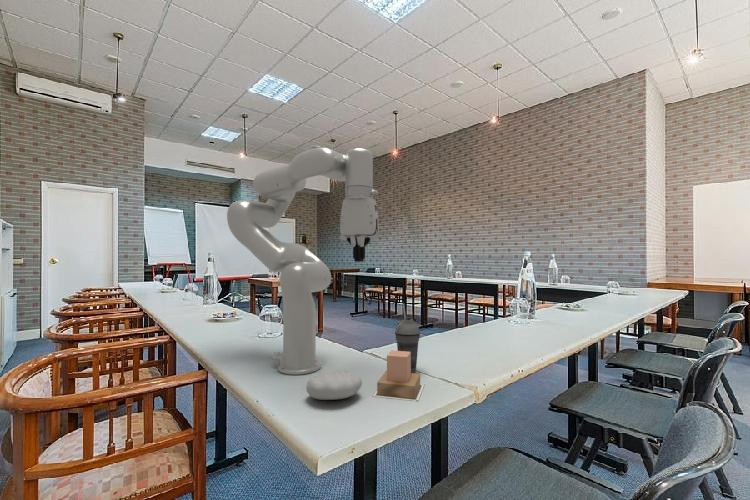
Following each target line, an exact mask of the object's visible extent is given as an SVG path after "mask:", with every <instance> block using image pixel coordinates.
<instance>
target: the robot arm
mask: <svg viewBox="0 0 750 500" xmlns="http://www.w3.org/2000/svg"><path fill="white" fill-rule="evenodd" d="M373 164H374V157H373V153H372V151H371V150H369V149H367V148H362V147H361V148H360V147H358V148H357V147H356V148H351V149H349V150H347V152H346V153H345V154H344V153H343V154H342V153H339V152H338V151H335V150H333V149H331V148H328V147H316V148H312V149H311V148H310V149H309V150H306V151H302V152H300V153H298V154H296V156H295V157H294V158H293V159H292V160H291V162H290V163H289V164H284V165H282V166H277V167H275V168H272V169H268V170H265V171H262V172H260V173H257V175H256V176H255V177H254V179H253V181H252V188H253V190H254V191H255V193H256V194H257V195H258V196H259V197H262V198H264V199H267V201H266V202H261V201H256V200H251V199H250V200H249V199H239V200H236V201H234V202H232V203H231V204H230V205H229V207H228V208H227V211H226V220H227V221H226V222H227V225H228V229H229V230H230V232H231V233H232V235H233V237H234V238H235V239H236V240H237V241H238V242H239V243H240V244H242V245H243V246H244V247H245V248H246V249H247V250H248V251H249V252H250V253H251V254H252V255H253V256H254V257H256V259H257V260H259V261H260V263H262V264H263V265H264V266H265V267H266V269H268V270H269V271H270V272H273V273H280V276H279V284H280V290H281V295H282V296H281V297H282V312H283V313H282V318H283V319H282V321H283V324H282V327H283V328H282V329H283V331H282V332H283V334H282V343H283V344H282V346H283V348H282V351H283V352H279V351H274V352H273V353H272V357H271V360H272V361H278V362H279V364H278V365H277V371H278V372H279V373H281V374H285V375H294V376H295V375H297V376H298V375H306V374H307V375H308V374H311V373H315V372H316V371H318V370H320V368H322V367H321V365H322V364H321V361H319V360H317V357H316V352H317V351H316V350H317V349H316V346H317V344H316V343H317V339H316V335H317V334H316V331H317V330H316V328H317V325H316V324H317V322H316V319H317V316H316V313H317V311H316V303H315V300H314V297H313V294H312V293H317V292H322V291H324V290H325V289H327V288H329V286H330V284H331V282H332V274H331V270H330V269H329V267H328V265H326V263H324V262H323V260H321V259H320V258H319V257H318V256H316V254H314V253H313V252H312V251H310V249H308V248H307V247H306V246H304V245H302V244H299V243H295V242H294V243H293V242H286V241H285V242H284V241H281V240H279V239H278V238H276V237H275V236H274V235H273V234H272V233H271V232H270V231H268V230H267V229H270V228H273V227H274V226H275V227H276V225H277V224H278V223H279V221H280V220H281V219H282V217H283V216H284V214H285V213H286V211H287V210H288V208H289V207H290V205H291V203H292V202H293V200H294V198H295V196H296V193H297V192H300V191H303V190H304V188H305V187H306V184H307V179H309V178H313V177H319V176H322V177H325V178H327V179H330V180H333V181H336V182H344V183H345V195H344V196H345V199H343V201H342V205H341V212H340V219H339V220H340V221H339V232H340V237H339V239H340V240H341V241H344V242H348V244H349V245H350V246H351V247H352V259H354V263H355V262H356V263H363V262H364V260H365V259H366V247H367V246H368V244H369V243H370V242H374V241H376V240H379V231H380V230H379V229H380V228H379V225H380V224H379V213H378V212H379V211H378V206H377V205H378V204H377V201H376V199H374V196H378V194H379V191H378V189H374V186H373V185H374V183H373V182H374V181H373V180H374V176H373V175H374V174H373V173H374V168H373V167H374V165H373ZM358 237H360V239H358Z"/></svg>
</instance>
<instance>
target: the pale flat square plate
mask: <svg viewBox="0 0 750 500" xmlns="http://www.w3.org/2000/svg"><path fill="white" fill-rule="evenodd" d="M424 388H425V384H422V383H420V387H419V390H418V392H417V395H416V397H415V399H408V398H398V397H389V396H380V395H377V389H376V390H375V392H374V393H373V394H372V395H371V397H373V398H382V399H392V400H399V401H410V402H418V403H419V401H420V398H421V396H422V393H423V390H424Z"/></svg>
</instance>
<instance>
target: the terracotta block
mask: <svg viewBox="0 0 750 500" xmlns="http://www.w3.org/2000/svg"><path fill="white" fill-rule="evenodd" d="M386 371H387V380H388V381H398V382H408V380H409V378H410V376H411V352H407V351H398V350H395V349H393V350H390V352H389V353H388V354H386Z"/></svg>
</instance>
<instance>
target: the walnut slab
mask: <svg viewBox="0 0 750 500" xmlns="http://www.w3.org/2000/svg"><path fill="white" fill-rule="evenodd" d="M376 384H377V385H376V390H377V395H380V396H389V397H398V398H408V399H415V397H416V395H417V392H418V390H419V387H420V384H421V373H416V372H415V373H411V376H410V378H409V380H408V382H398V381H388V380H387V370H385V371H384V373H383V374H382V376H381V377H380V378H379V379H378V380H377V383H376Z"/></svg>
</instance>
